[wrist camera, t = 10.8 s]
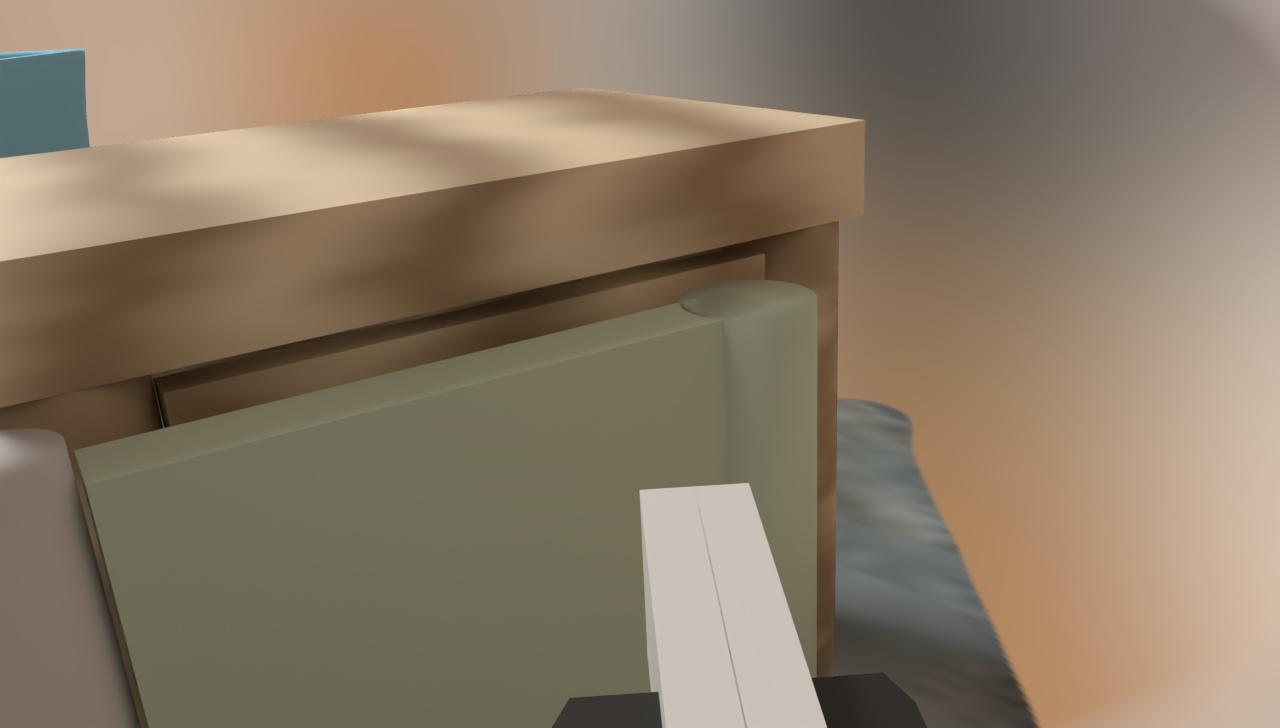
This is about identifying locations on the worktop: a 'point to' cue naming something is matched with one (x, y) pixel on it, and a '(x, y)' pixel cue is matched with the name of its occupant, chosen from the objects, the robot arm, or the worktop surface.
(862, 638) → the worktop surface
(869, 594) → the worktop surface
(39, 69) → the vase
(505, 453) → the pale green flat panel
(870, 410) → the worktop surface
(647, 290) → the stool
